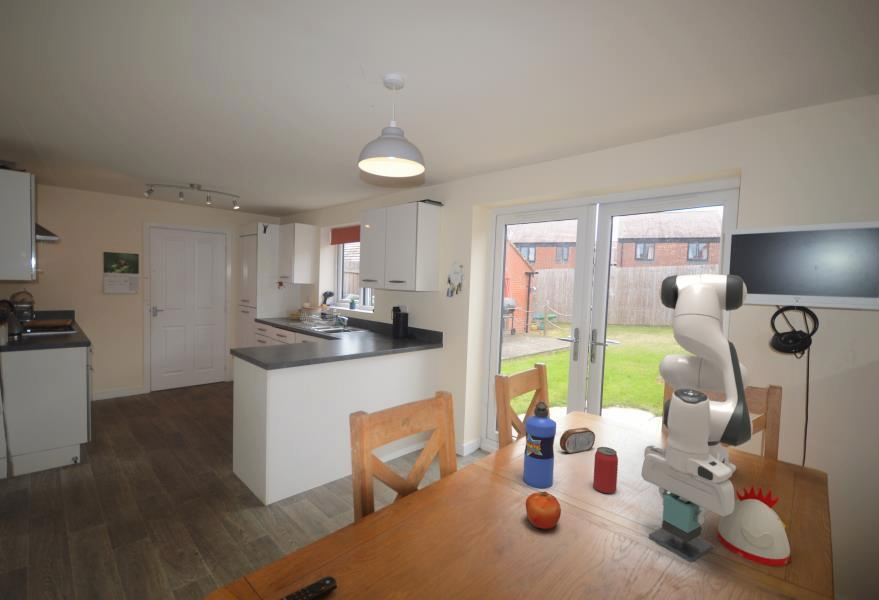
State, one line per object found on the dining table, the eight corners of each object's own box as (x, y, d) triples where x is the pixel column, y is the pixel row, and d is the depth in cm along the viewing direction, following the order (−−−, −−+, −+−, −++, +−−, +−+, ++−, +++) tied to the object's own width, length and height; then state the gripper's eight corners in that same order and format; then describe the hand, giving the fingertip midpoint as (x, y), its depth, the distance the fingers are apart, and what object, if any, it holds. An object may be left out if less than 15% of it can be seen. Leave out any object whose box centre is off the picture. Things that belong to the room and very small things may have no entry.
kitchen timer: (794, 574, 90) (800, 508, 90) (719, 551, 98) (723, 489, 97) (783, 541, 102) (788, 482, 101) (716, 522, 109) (720, 467, 109)
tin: (589, 447, 157) (591, 425, 157) (596, 450, 154) (597, 428, 154) (558, 452, 151) (559, 430, 150) (564, 456, 148) (565, 433, 148)
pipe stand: (671, 526, 107) (674, 485, 106) (713, 548, 98) (716, 504, 98) (648, 538, 101) (651, 494, 101) (690, 562, 93) (694, 515, 92)
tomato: (541, 538, 100) (542, 506, 100) (517, 518, 108) (518, 488, 108) (569, 528, 104) (570, 498, 104) (544, 510, 112) (545, 481, 112)
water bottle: (541, 492, 122) (545, 409, 121) (516, 479, 129) (520, 401, 128) (559, 482, 128) (563, 403, 127) (534, 471, 135) (537, 396, 134)
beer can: (618, 496, 121) (620, 456, 121) (594, 492, 123) (597, 453, 122) (613, 485, 128) (615, 447, 127) (591, 482, 129) (593, 445, 128)
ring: (675, 521, 104) (676, 514, 104) (700, 534, 99) (701, 526, 99) (662, 528, 101) (662, 520, 101) (687, 542, 96) (687, 534, 95)
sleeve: (662, 519, 101) (664, 495, 100) (676, 513, 104) (677, 490, 103) (687, 533, 96) (689, 508, 95) (701, 525, 99) (703, 501, 98)
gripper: (638, 444, 106) (635, 496, 107) (726, 479, 89) (721, 541, 89) (652, 440, 109) (649, 491, 110) (740, 473, 92) (735, 533, 93)
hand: (682, 514), depth 100 cm, fingers closed on sleeve, 6 cm apart
